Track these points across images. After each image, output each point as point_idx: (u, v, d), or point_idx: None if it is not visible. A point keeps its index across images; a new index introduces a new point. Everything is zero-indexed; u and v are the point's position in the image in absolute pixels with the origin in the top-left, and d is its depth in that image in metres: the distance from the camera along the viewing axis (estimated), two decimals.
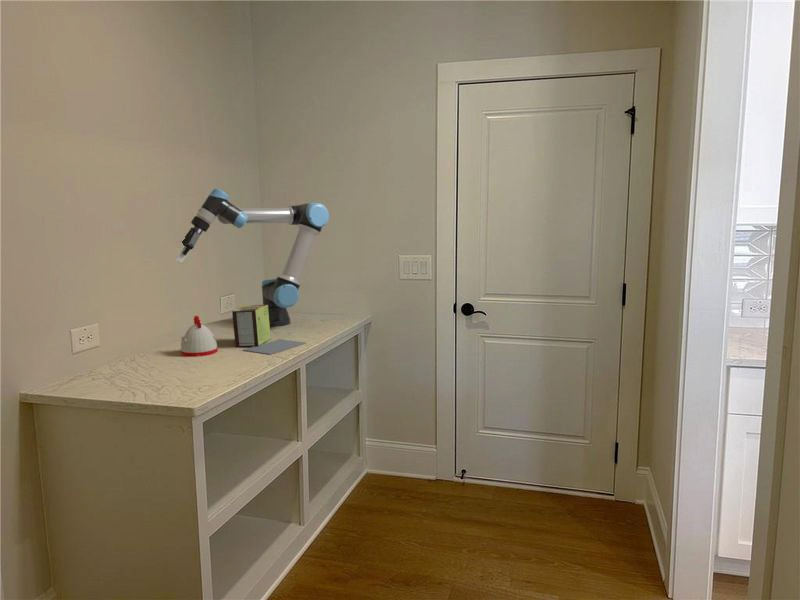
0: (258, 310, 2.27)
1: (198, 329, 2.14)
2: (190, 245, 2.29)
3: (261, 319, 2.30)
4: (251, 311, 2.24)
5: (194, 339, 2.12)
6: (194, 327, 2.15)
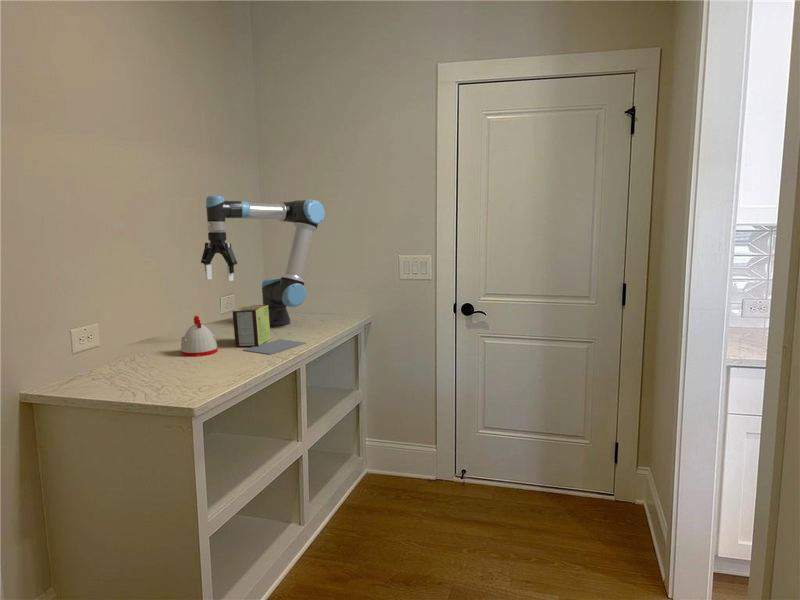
0: (258, 310, 2.27)
1: (198, 329, 2.14)
2: (234, 262, 2.32)
3: (261, 319, 2.30)
4: (251, 311, 2.24)
5: (194, 339, 2.12)
6: (194, 327, 2.15)
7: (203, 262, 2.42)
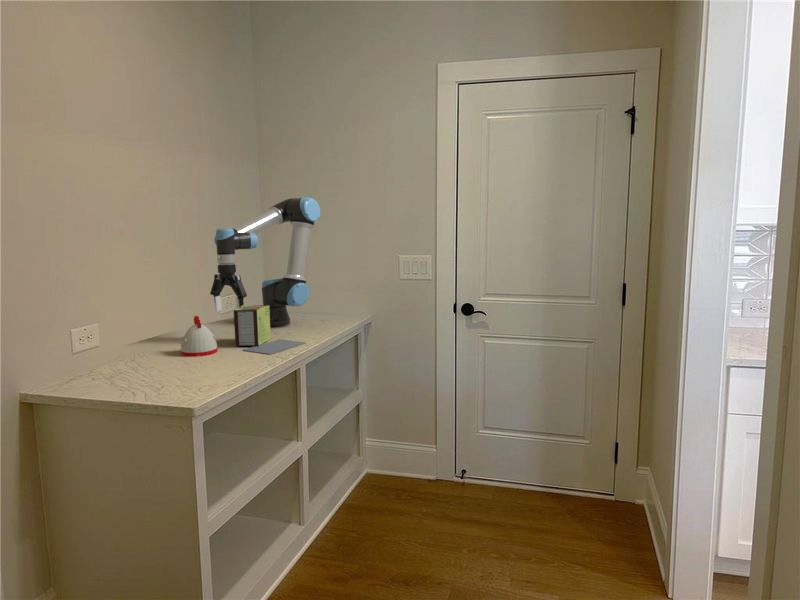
0: (259, 310, 2.27)
1: (198, 329, 2.14)
2: (244, 295, 2.32)
3: (262, 319, 2.30)
4: (252, 311, 2.24)
5: (194, 339, 2.12)
6: (194, 327, 2.15)
7: (212, 294, 2.41)
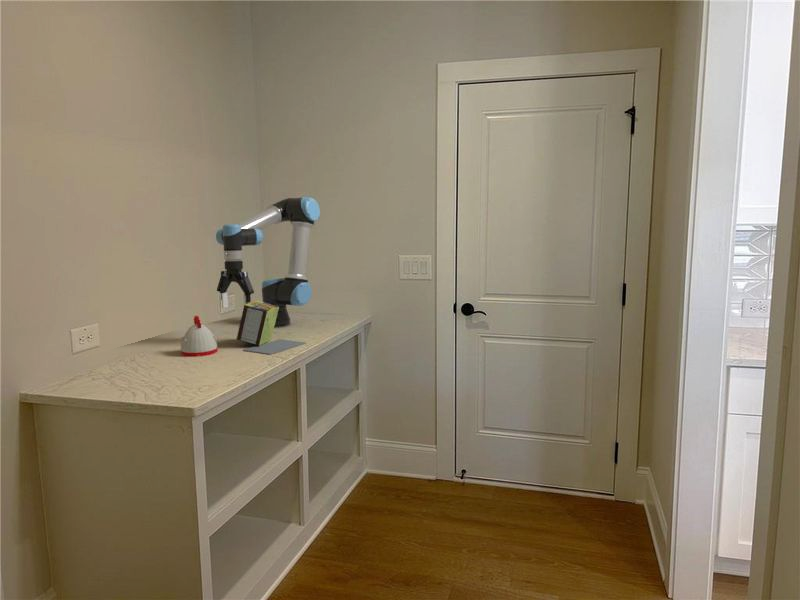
0: (269, 311, 2.26)
1: (198, 329, 2.14)
2: (251, 292, 2.30)
3: (269, 320, 2.29)
4: (263, 311, 2.23)
5: (194, 339, 2.12)
6: (194, 327, 2.15)
7: (219, 290, 2.39)
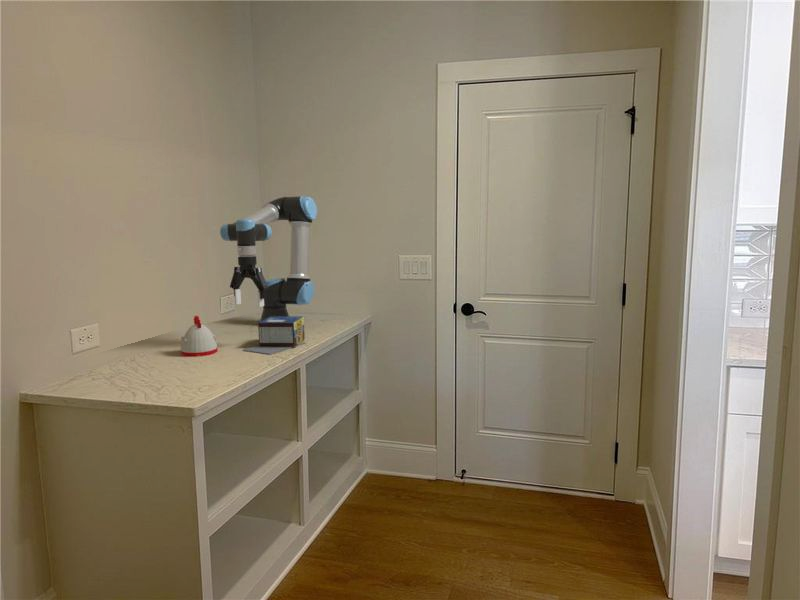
0: None
1: (198, 329, 2.14)
2: (265, 288, 2.25)
3: None
4: (293, 342, 2.24)
5: (194, 339, 2.12)
6: (194, 327, 2.15)
7: (232, 287, 2.34)
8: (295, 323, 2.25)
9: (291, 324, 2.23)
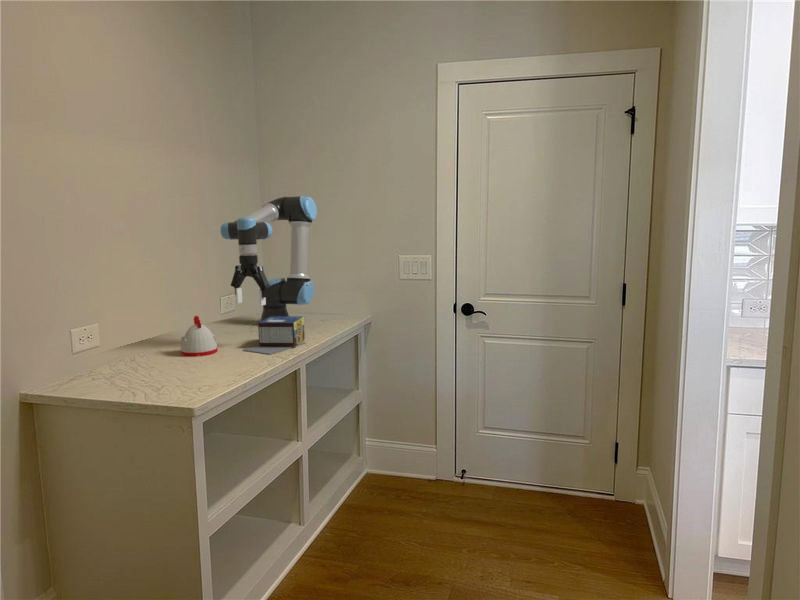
0: None
1: (198, 329, 2.14)
2: (267, 286, 2.25)
3: None
4: (293, 342, 2.24)
5: (194, 339, 2.12)
6: (194, 327, 2.15)
7: (233, 285, 2.34)
8: (295, 323, 2.25)
9: (291, 324, 2.23)
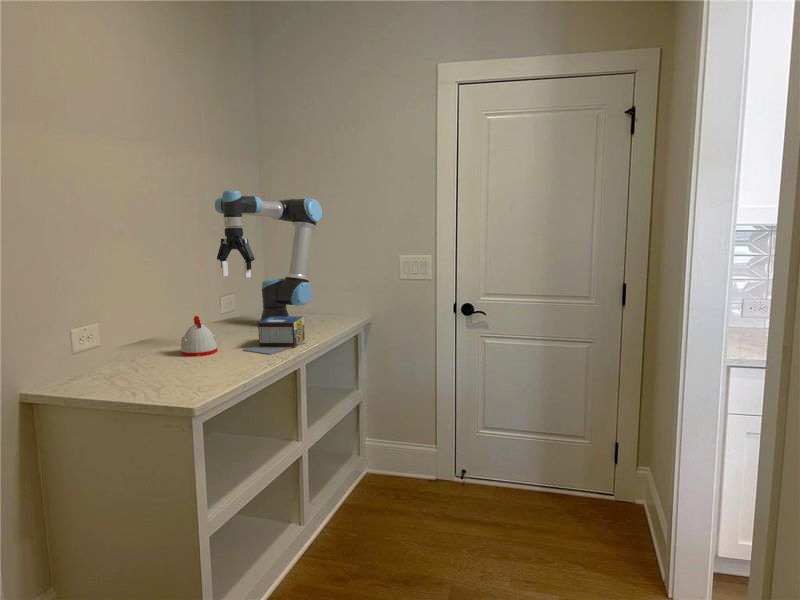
0: None
1: (198, 329, 2.14)
2: (252, 259, 2.27)
3: None
4: (293, 342, 2.24)
5: (194, 339, 2.12)
6: (194, 327, 2.15)
7: (219, 258, 2.36)
8: (295, 323, 2.25)
9: (291, 324, 2.23)
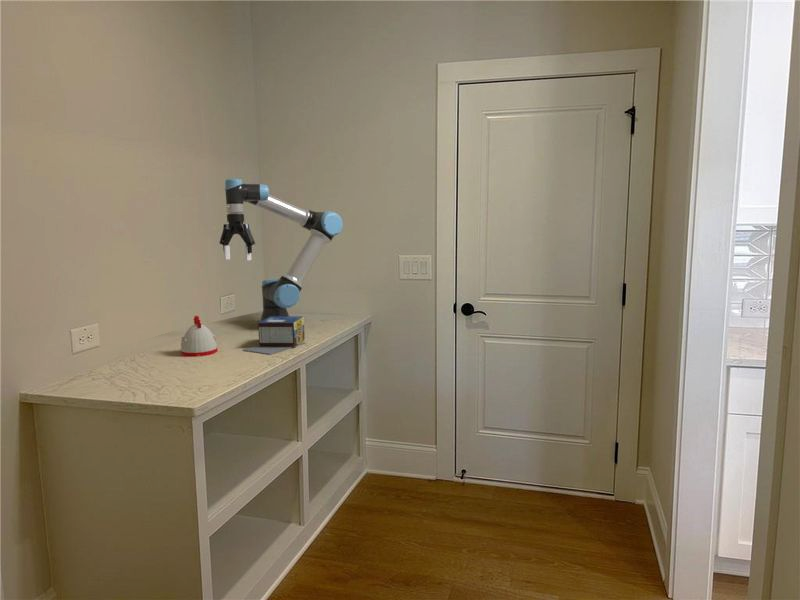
0: None
1: (198, 329, 2.14)
2: (252, 242, 2.43)
3: None
4: (293, 342, 2.24)
5: (194, 339, 2.12)
6: (194, 327, 2.15)
7: None
8: (295, 323, 2.25)
9: (291, 324, 2.23)
